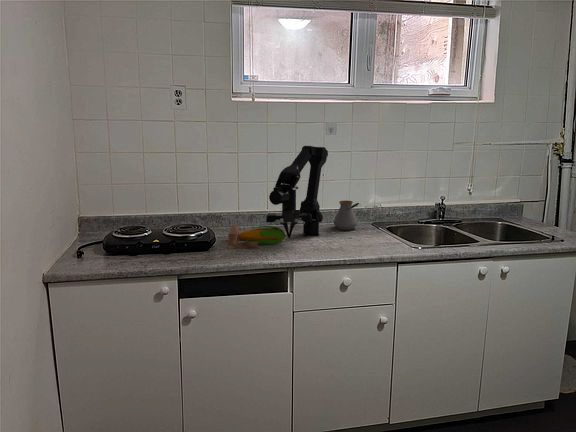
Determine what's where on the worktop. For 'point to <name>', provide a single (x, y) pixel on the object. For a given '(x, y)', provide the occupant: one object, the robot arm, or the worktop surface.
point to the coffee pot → (346, 216)
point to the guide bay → (234, 240)
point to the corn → (263, 235)
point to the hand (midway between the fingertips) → (288, 237)
